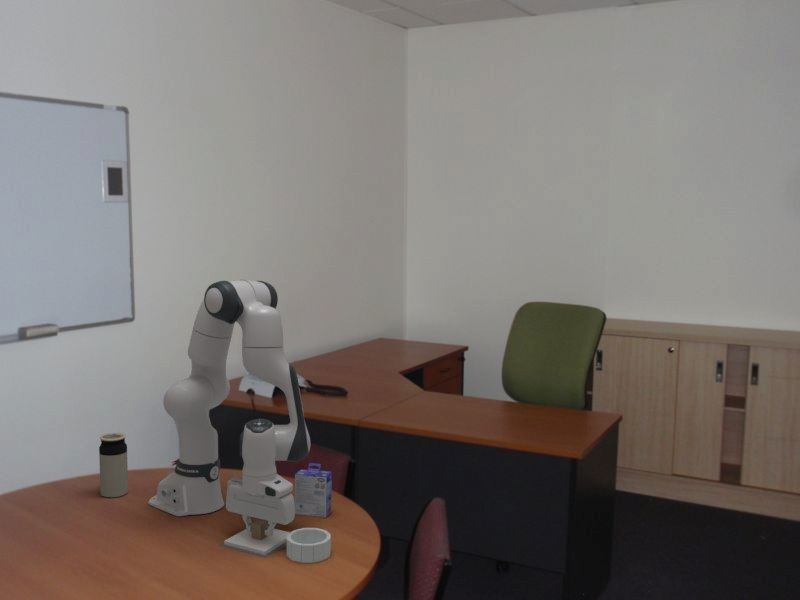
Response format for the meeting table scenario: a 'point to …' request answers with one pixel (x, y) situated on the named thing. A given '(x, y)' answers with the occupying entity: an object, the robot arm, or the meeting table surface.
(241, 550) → the mat
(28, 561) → the meeting table surface
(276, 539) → the lid
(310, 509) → the ink cartridge box
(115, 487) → the travel mug
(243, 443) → the robot arm
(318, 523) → the meeting table surface
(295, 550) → the bowl
